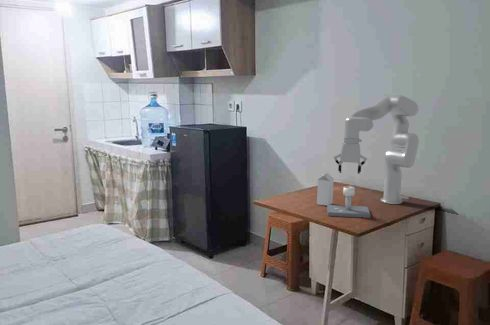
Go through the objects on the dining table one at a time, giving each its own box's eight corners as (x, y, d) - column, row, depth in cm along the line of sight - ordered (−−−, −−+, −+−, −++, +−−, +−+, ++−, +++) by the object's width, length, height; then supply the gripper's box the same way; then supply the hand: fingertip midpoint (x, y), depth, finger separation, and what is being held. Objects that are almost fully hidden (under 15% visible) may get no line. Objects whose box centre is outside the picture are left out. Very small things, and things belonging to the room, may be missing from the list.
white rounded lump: (353, 193, 235) (354, 185, 234) (354, 196, 229) (355, 188, 228) (342, 193, 235) (343, 185, 235) (343, 195, 230) (343, 187, 229)
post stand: (366, 210, 239) (367, 192, 238) (370, 218, 225) (371, 199, 223) (326, 208, 243) (327, 190, 241) (327, 215, 228) (328, 197, 226)
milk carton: (332, 203, 252) (333, 172, 249) (328, 206, 246) (329, 174, 243) (321, 201, 256) (322, 170, 253) (316, 204, 250) (318, 172, 247)
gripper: (367, 141, 229) (365, 172, 232) (334, 139, 232) (332, 170, 235) (369, 142, 222) (366, 174, 225) (335, 141, 225) (333, 173, 227)
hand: (349, 172), depth 230 cm, fingers open, 9 cm apart
